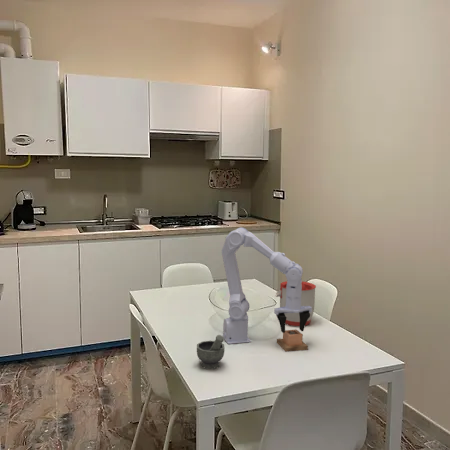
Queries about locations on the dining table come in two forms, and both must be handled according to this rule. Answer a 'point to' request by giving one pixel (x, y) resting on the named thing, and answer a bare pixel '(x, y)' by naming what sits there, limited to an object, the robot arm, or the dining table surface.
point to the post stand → (291, 348)
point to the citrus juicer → (306, 300)
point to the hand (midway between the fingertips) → (292, 331)
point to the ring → (292, 338)
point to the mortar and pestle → (211, 352)
